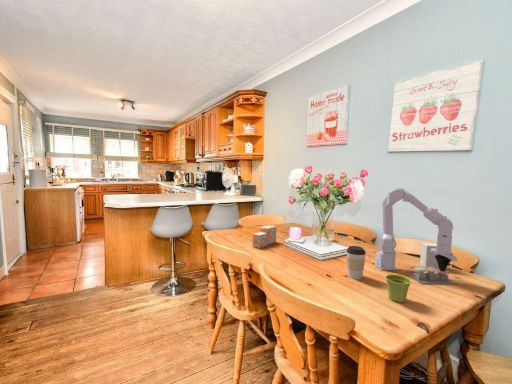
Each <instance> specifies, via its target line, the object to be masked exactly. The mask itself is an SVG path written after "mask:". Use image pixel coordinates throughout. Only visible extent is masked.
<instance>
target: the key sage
mask: <svg viewBox="0 0 512 384" xmlns="http://www.w3.org/2000/svg"><path fill="white" fill-rule="evenodd" d="M413 269H414V270H415V271H416V273H417V274H418V275H423V274H424V273H428V270H427V269H425V267H424V266H413Z"/></svg>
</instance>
